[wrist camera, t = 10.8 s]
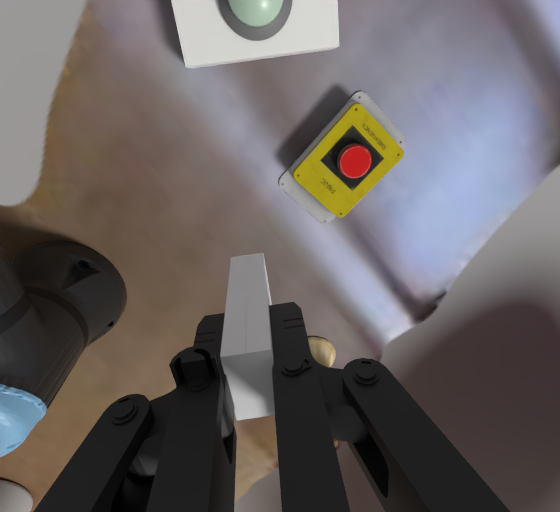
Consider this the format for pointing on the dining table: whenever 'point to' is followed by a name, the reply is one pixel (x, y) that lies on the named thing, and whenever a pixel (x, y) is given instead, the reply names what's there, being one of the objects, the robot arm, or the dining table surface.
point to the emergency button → (344, 160)
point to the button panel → (253, 31)
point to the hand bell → (322, 354)
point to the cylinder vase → (14, 498)
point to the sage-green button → (255, 11)
